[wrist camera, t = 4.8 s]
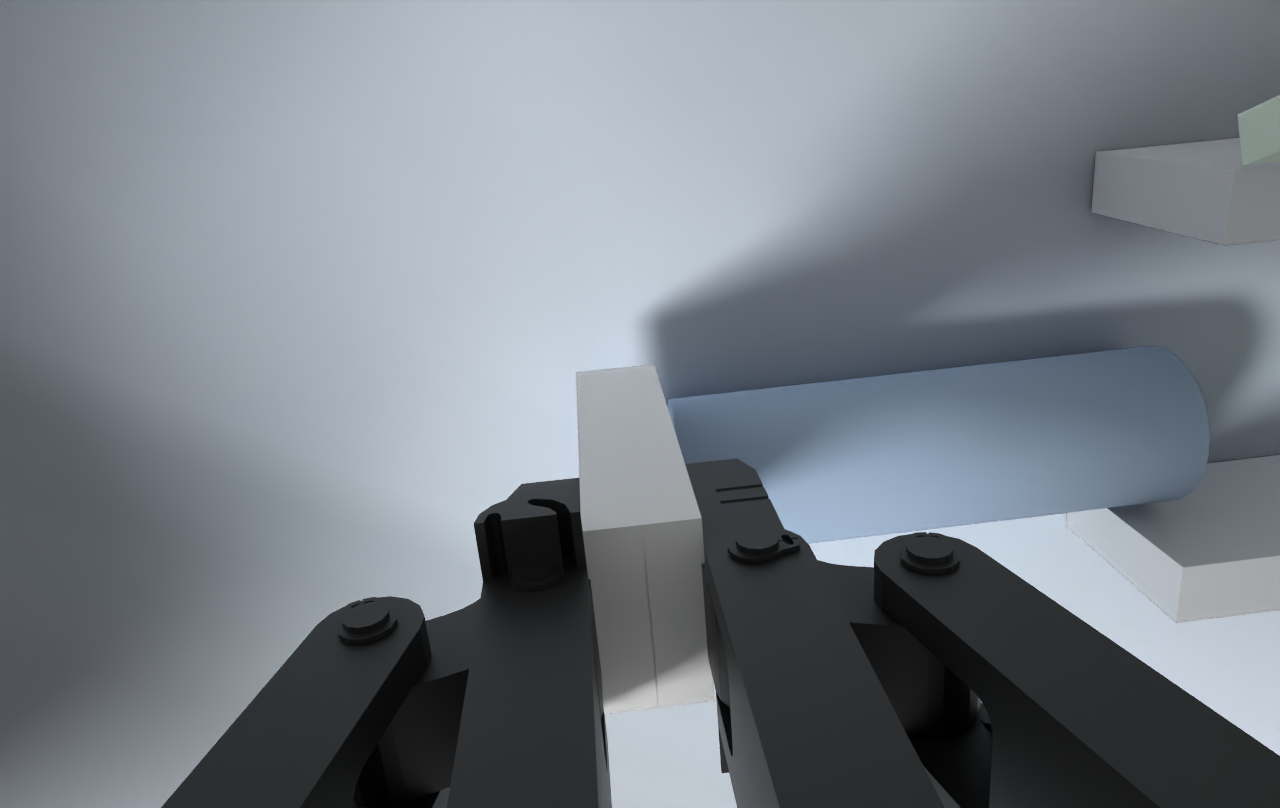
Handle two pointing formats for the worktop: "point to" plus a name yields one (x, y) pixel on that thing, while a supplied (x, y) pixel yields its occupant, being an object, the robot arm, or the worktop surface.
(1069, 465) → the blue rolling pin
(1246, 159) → the cover
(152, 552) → the worktop surface
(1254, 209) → the white u-shaped channel
